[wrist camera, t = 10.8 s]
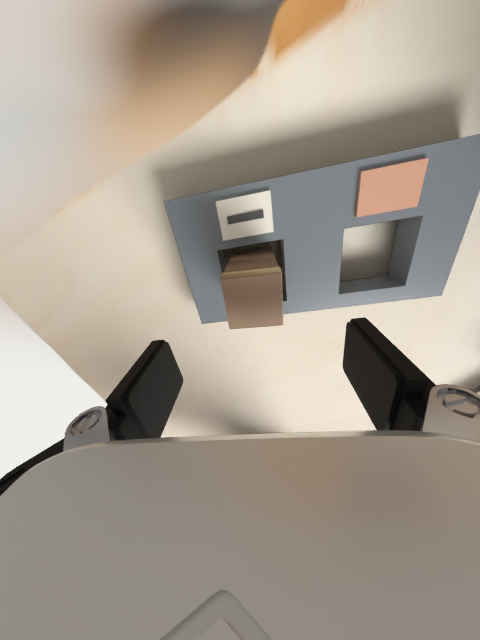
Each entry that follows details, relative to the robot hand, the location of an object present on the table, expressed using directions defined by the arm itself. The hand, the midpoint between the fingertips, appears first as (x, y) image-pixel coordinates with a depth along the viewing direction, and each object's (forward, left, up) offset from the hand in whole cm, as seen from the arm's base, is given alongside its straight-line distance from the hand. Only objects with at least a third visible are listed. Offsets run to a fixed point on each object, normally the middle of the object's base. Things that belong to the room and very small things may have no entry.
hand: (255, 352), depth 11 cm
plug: (+1, 0, -14) cm, 14 cm away
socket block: (+2, -6, -14) cm, 15 cm away
